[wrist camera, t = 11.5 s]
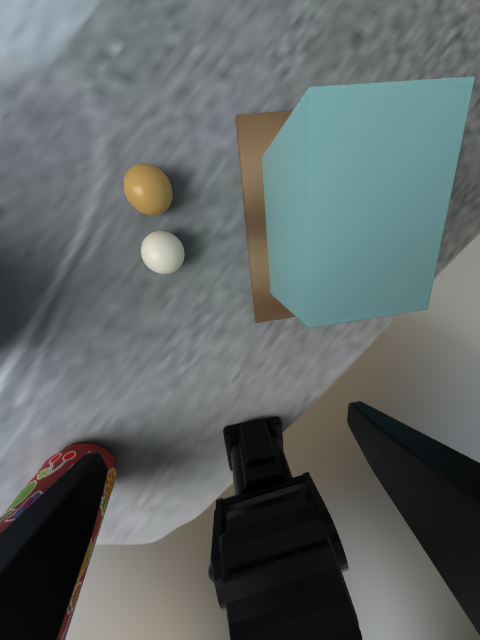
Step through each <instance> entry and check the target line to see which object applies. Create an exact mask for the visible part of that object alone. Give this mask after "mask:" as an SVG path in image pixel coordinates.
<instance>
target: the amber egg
mask: <svg viewBox="0 0 480 640" xmlns="http://www.w3.org/2000/svg"><path fill="white" fill-rule="evenodd" d="M124 191H125V195H126V197H127V199H128V201H129V202H130V204H131V205H132V206H133V207H134V208H135V209H136V210H138V211H139V212H141V213H143V214H146V215H151V216H154V215H159V214H162V213H164V212H165V211H166V210H167V209H168V208H169V206H170V204H171V202H172V197H173V192H172V186H171V184H170V181H169V179H168V178H167V176H166V175H165V174H164V172H163V171H161V170H160V169H159V168H158V167H156V166H154V165H151V164H148V163H139V164H136V165H134V166H132V167H131V168H130V169H129V170H128V171H127V173H126V175H125V178H124Z"/></svg>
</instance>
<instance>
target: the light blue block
mask: <svg viewBox="0 0 480 640" xmlns="http://www.w3.org/2000/svg"><path fill="white" fill-rule="evenodd" d="M474 78H475V76H471V77H456V78H441V79H426V80H411V81H396V82H381V83H366V84H351V85H336V86H321V87H309V88H308V90H307V91H306V93H305V94H304V96H303V97H302V98H301V100H300V101H299V103H298V104H297V106H296V107H295V109H294V110H293V112H292V113H291V115H290V116H289V118H288V119H287V121H286V122H285V124H284V125H283V126H282V128H281V129H280V131H279V132H278V134H277V135H276V137H275V138H274V140H273V141H272V143H271V144H270V146H269V147H268V149H267V150H266V151H265V153H264V154H263V156H262V168H263V183H264V199H265V214H266V230H267V246H268V261H269V277H270V292H271V294H272V295H273V296H274V297H275V298H276V299H277V300H278V301H279V302H281V303H282V304H283V305H284V306H285V307H286V308H287V309H288V310H289V311H290V312H292V313H293V314H294V315H295V316H296V317H297V318H298V319H299V320H300V321H301V322H303V323H304V324H305V325H306V326H307V327H308V328H315V327H321V326H327V325H333V324H340V323H346V322H352V321H358V320H364V319H371V318H377V317H383V316H389V315H395V314H401V313H408V312H414V311H419V310H426V309H428V305H429V300H430V295H431V290H432V285H433V280H434V276H435V271H436V266H437V261H438V256H439V251H440V246H441V241H442V236H443V231H444V226H445V221H446V216H447V211H448V207H449V202H450V197H451V192H452V187H453V182H454V177H455V172H456V167H457V162H458V157H459V152H460V147H461V142H462V138H463V133H464V128H465V123H466V118H467V113H468V108H469V103H470V98H471V93H472V88H473V83H474Z"/></svg>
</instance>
